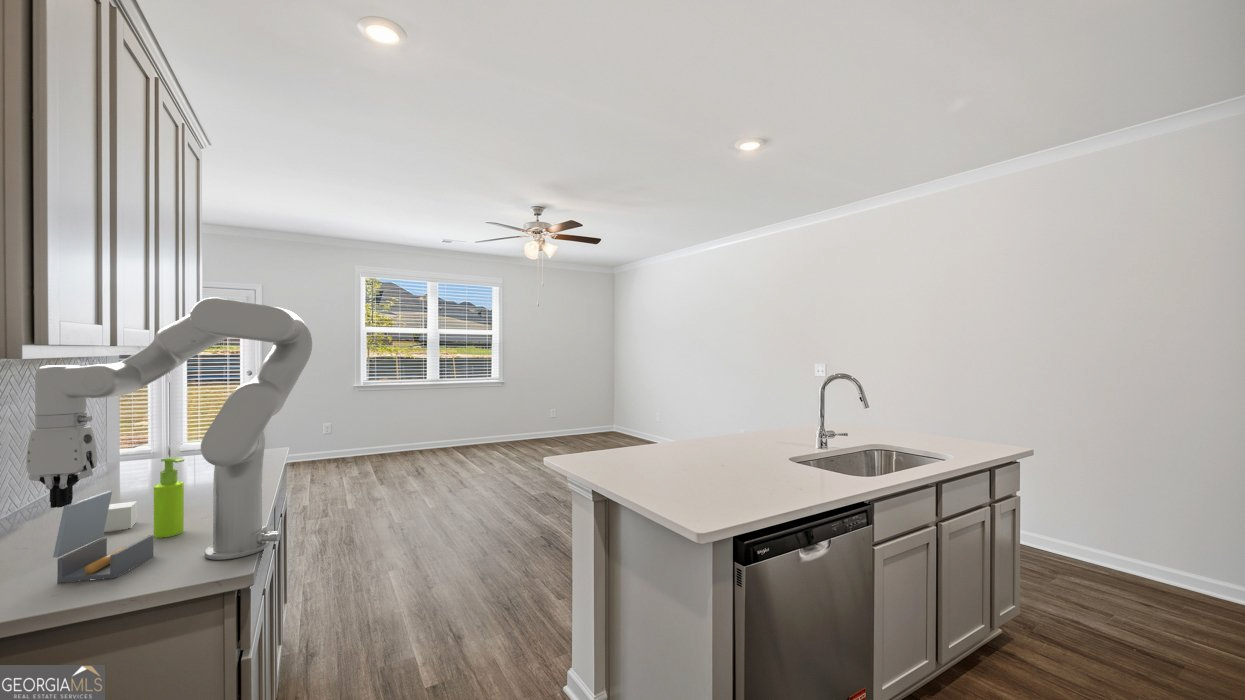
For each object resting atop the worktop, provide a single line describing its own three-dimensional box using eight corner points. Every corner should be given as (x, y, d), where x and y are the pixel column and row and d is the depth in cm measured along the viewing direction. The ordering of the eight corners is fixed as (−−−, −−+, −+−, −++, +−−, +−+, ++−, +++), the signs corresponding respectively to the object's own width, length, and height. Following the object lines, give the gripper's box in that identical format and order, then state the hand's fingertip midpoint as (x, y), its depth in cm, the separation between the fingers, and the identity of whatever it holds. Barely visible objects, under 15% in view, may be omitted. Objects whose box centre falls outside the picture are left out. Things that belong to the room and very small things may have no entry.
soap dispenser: (168, 539, 131) (169, 461, 131) (147, 536, 132) (147, 459, 132) (192, 531, 136) (192, 456, 136) (171, 529, 138) (171, 455, 138)
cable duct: (153, 556, 120) (153, 534, 120) (114, 578, 108) (114, 554, 108) (102, 559, 118) (102, 538, 118) (57, 583, 106) (57, 559, 106)
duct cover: (112, 491, 118) (108, 490, 118) (68, 506, 106) (63, 506, 106) (102, 536, 118) (98, 536, 117) (57, 557, 106) (52, 557, 106)
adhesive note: (136, 522, 143) (137, 501, 143) (131, 528, 138) (131, 506, 138) (107, 526, 140) (107, 504, 140) (100, 532, 135) (100, 510, 135)
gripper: (115, 418, 116) (115, 498, 116) (35, 420, 113) (34, 503, 113) (88, 423, 109) (88, 508, 109) (2, 425, 106) (2, 513, 106)
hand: (61, 505), depth 111 cm, fingers closed
